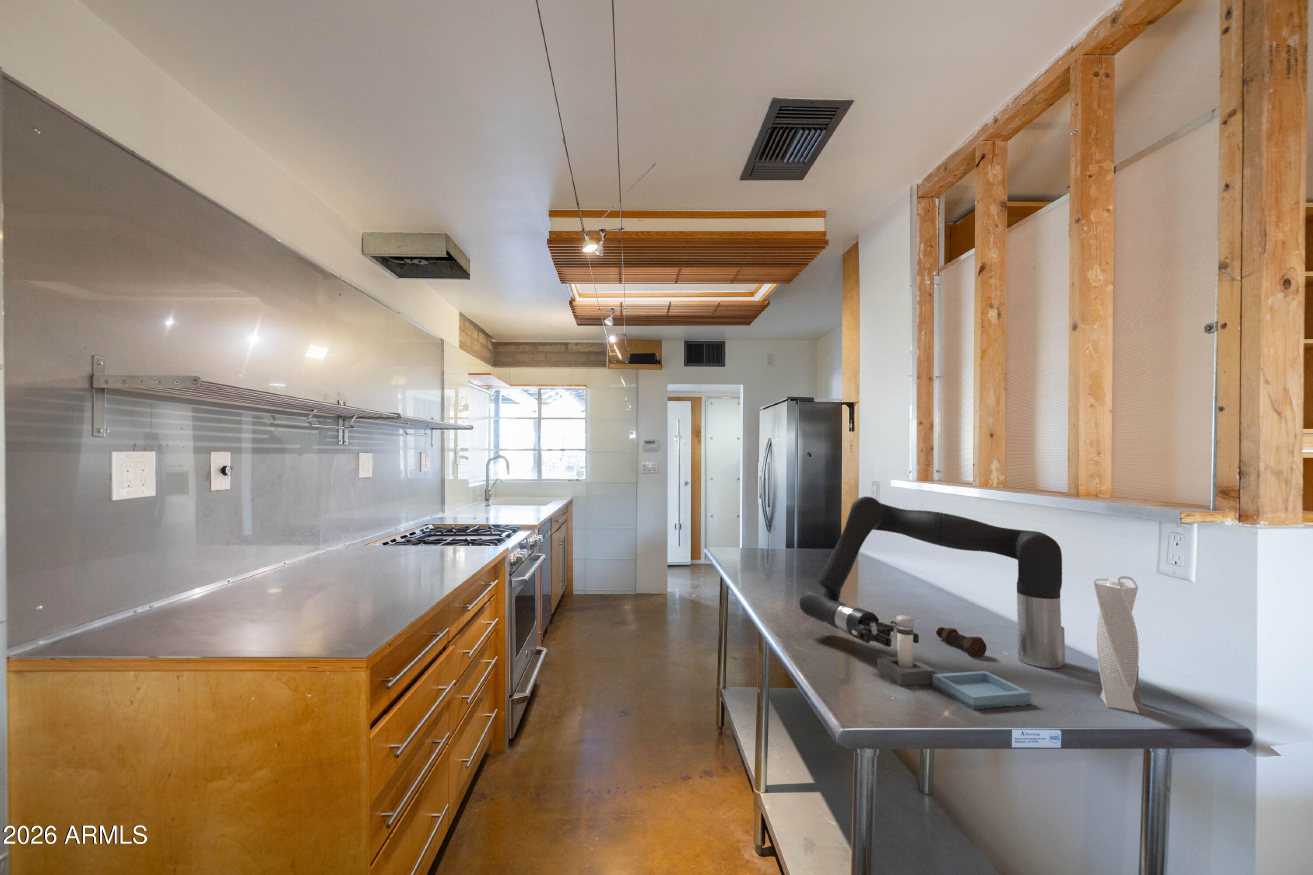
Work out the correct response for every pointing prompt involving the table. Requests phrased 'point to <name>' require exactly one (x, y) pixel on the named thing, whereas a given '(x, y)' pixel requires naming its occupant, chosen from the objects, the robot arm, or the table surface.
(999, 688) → the tray
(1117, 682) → the skyscraper
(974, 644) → the bolt
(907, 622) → the fuse
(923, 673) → the fuse holder
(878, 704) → the table surface
